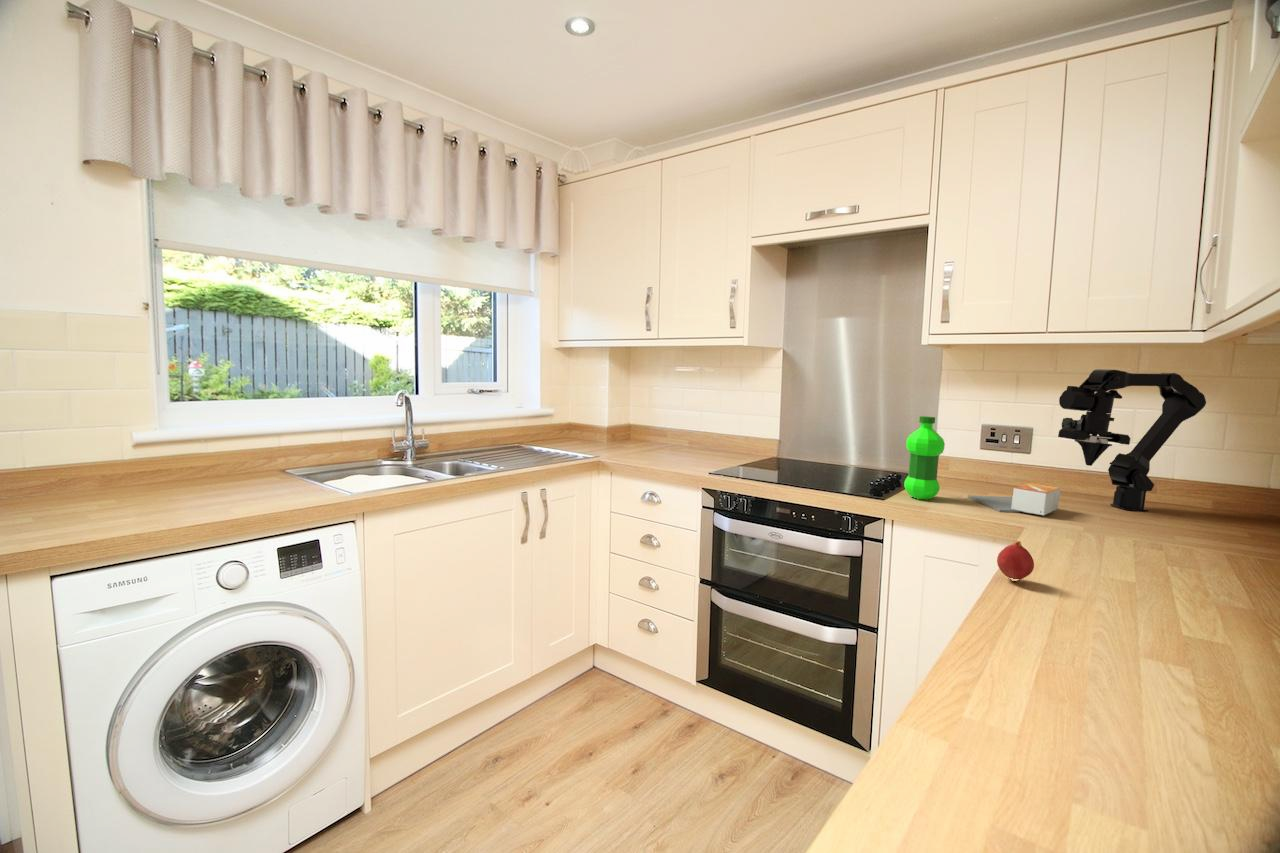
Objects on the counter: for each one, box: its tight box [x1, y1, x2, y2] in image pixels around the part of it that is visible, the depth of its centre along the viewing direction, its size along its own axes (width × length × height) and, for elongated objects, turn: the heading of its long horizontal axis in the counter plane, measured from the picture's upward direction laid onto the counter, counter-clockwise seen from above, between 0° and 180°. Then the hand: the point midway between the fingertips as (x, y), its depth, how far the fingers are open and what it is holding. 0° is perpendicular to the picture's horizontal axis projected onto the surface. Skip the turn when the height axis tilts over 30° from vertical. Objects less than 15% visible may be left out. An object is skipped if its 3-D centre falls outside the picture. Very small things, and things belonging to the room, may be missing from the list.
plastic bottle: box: [903, 415, 945, 500], centre depth 178 cm, size 10×10×25 cm
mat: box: [967, 494, 1052, 515], centre depth 173 cm, size 14×18×1 cm
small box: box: [1011, 482, 1061, 516], centre depth 166 cm, size 8×6×13 cm
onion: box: [996, 540, 1035, 580], centre depth 110 cm, size 6×6×8 cm
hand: (1088, 465), depth 171 cm, fingers closed
